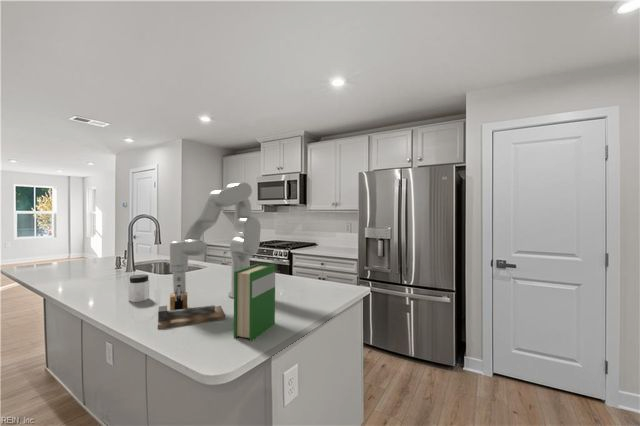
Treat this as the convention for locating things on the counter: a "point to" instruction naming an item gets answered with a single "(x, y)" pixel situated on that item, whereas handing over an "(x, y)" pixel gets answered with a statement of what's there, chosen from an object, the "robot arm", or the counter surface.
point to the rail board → (188, 316)
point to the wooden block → (172, 300)
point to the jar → (138, 288)
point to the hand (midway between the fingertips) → (178, 307)
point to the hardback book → (254, 300)
